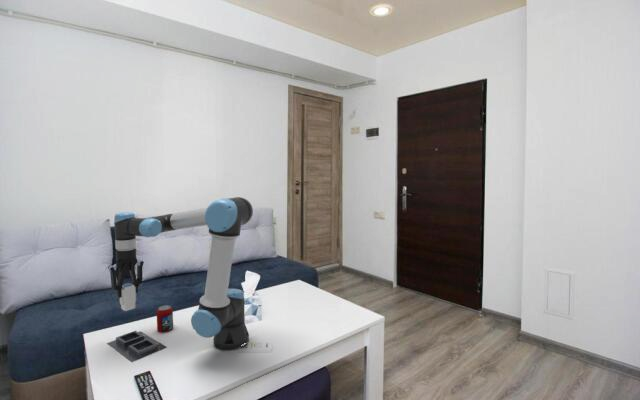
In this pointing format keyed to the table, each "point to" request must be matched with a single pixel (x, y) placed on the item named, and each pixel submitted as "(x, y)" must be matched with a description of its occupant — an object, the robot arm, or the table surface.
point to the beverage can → (164, 319)
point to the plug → (128, 297)
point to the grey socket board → (136, 345)
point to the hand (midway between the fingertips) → (128, 302)
